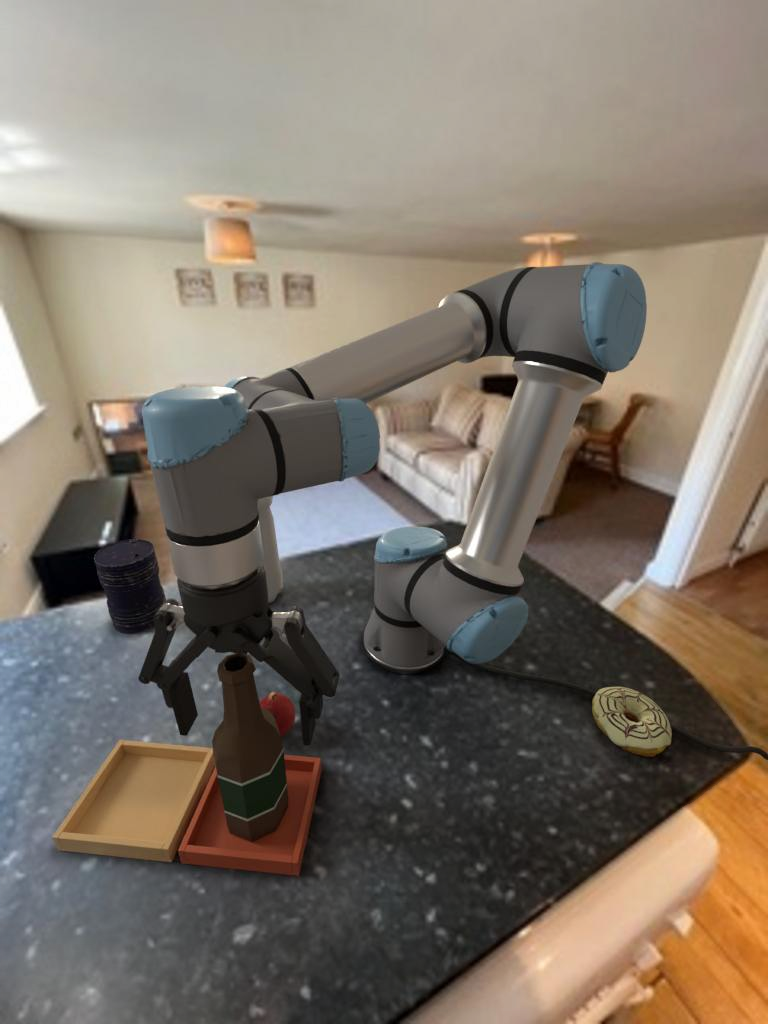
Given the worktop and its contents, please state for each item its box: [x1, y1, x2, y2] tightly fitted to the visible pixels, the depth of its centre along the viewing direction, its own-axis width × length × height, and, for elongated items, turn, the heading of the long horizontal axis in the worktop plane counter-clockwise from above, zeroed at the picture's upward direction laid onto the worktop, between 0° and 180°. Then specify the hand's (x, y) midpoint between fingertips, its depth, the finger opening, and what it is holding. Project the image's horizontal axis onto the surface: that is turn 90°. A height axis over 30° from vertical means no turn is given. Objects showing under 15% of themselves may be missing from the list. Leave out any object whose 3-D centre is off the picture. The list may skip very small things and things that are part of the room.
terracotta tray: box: [177, 754, 323, 877], centre depth 55 cm, size 13×12×2 cm
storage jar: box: [93, 538, 167, 635], centre depth 84 cm, size 10×10×18 cm
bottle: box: [258, 496, 284, 604], centre depth 89 cm, size 9×9×30 cm
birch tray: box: [51, 739, 215, 863], centre depth 56 cm, size 13×12×2 cm
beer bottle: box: [211, 653, 288, 842], centre depth 50 cm, size 8×8×24 cm
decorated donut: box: [591, 686, 673, 758], centre depth 67 cm, size 10×11×4 cm
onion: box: [259, 691, 296, 738], centre depth 64 cm, size 6×6×8 cm
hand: (249, 729), depth 49 cm, fingers open, 13 cm apart
